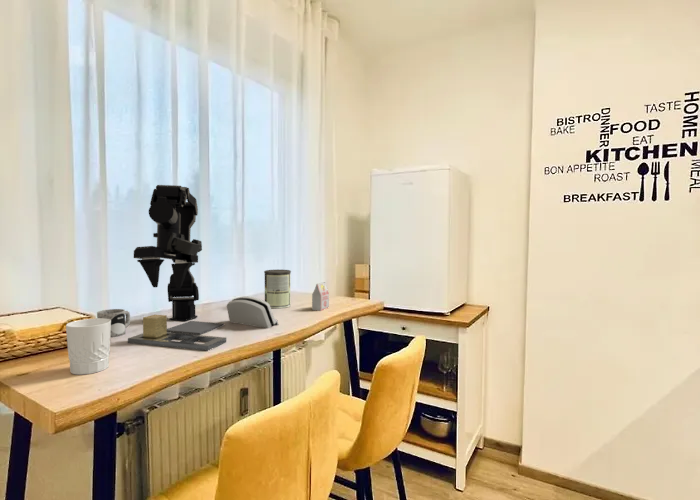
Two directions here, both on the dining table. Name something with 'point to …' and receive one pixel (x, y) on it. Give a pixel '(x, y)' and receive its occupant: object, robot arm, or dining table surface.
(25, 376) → the dining table surface
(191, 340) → the grey slotted frame
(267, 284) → the coffee can
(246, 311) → the grey rounded two-tone device
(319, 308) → the milk carton
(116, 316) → the mug
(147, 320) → the mustard yellow block
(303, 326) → the dining table surface
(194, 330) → the rubber pad
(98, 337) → the white cup
